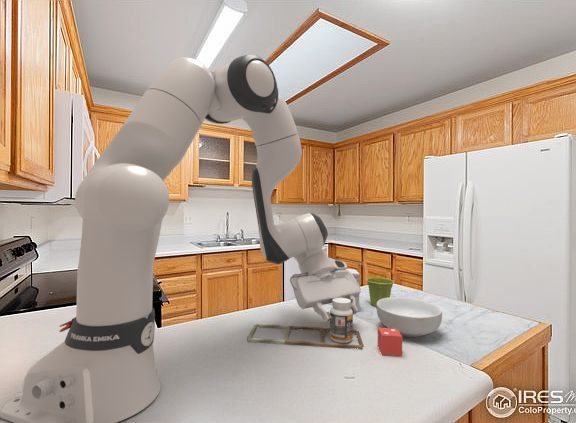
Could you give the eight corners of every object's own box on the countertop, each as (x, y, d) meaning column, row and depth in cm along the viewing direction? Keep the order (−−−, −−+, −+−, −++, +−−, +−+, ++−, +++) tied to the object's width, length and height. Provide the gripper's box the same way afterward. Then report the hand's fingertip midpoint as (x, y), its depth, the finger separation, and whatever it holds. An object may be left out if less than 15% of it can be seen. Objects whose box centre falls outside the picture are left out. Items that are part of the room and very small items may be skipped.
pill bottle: (352, 345, 70) (353, 304, 70) (328, 342, 72) (329, 302, 72) (352, 335, 76) (352, 297, 76) (330, 333, 77) (331, 296, 77)
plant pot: (360, 304, 102) (360, 279, 102) (374, 299, 109) (375, 276, 109) (384, 311, 95) (385, 285, 95) (398, 305, 102) (399, 280, 102)
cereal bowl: (378, 316, 91) (378, 293, 91) (437, 324, 85) (437, 300, 85) (373, 338, 75) (374, 310, 75) (446, 350, 69) (446, 320, 69)
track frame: (246, 341, 71) (246, 339, 71) (255, 325, 81) (255, 323, 81) (364, 349, 68) (364, 346, 68) (358, 332, 78) (358, 329, 78)
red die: (381, 355, 66) (382, 334, 66) (377, 346, 70) (377, 327, 70) (402, 356, 65) (402, 336, 65) (396, 347, 70) (397, 328, 70)
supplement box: (334, 304, 102) (334, 268, 102) (355, 304, 102) (355, 268, 102) (336, 311, 95) (337, 272, 95) (359, 311, 94) (360, 273, 94)
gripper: (292, 268, 74) (316, 318, 66) (349, 261, 86) (375, 304, 77) (282, 282, 78) (304, 331, 70) (338, 274, 89) (362, 315, 81)
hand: (342, 316), depth 74 cm, fingers open, 8 cm apart
